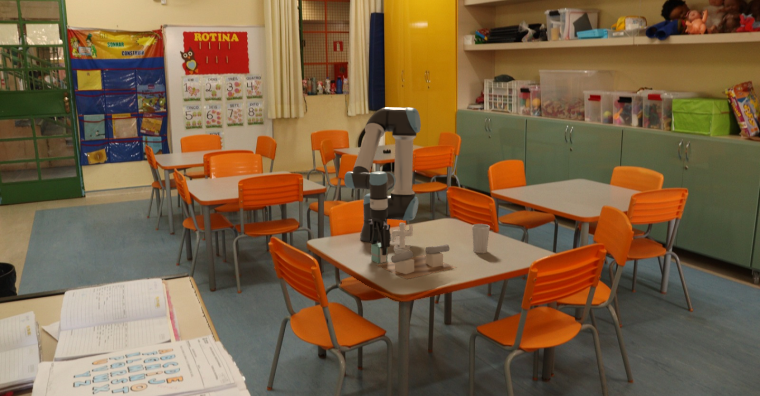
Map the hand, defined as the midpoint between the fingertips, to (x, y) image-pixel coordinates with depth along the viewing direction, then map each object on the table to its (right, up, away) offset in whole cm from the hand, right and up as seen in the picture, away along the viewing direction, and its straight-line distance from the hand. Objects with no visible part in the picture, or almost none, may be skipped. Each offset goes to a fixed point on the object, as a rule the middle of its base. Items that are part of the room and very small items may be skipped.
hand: (379, 260), depth 270 cm
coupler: (0, -1, 0) cm, 1 cm away
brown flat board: (+16, -3, -8) cm, 18 cm away
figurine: (+10, +1, +11) cm, 15 cm away
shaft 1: (+9, -3, -15) cm, 18 cm away
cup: (+47, +2, +17) cm, 50 cm away
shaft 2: (+25, -1, -5) cm, 25 cm away
